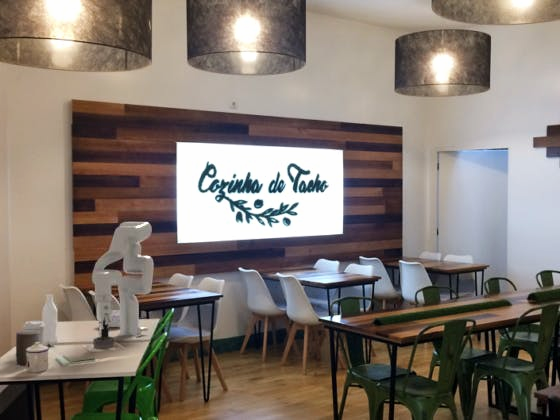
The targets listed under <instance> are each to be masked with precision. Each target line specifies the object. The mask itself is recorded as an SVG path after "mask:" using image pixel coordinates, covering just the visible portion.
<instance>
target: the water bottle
mask: <svg viewBox="0 0 560 420" xmlns="http://www.w3.org/2000/svg"><path fill="white" fill-rule="evenodd" d="M45 297H46V299H45V303H44V306H43V308H42V310H41V317H42V319H41V321H43V323H44V324H45V327H44V334H43V346H47V347H49V346H50V347H54V344H57V343H58V341H59V338H58V337H59V336H58V332H57V330H58V329H57V328H58V322H59V321H58V308H57V306H56V304H55V302H54V295H53V294H52V293H51V294H49V293H48V294H45Z"/></svg>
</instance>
